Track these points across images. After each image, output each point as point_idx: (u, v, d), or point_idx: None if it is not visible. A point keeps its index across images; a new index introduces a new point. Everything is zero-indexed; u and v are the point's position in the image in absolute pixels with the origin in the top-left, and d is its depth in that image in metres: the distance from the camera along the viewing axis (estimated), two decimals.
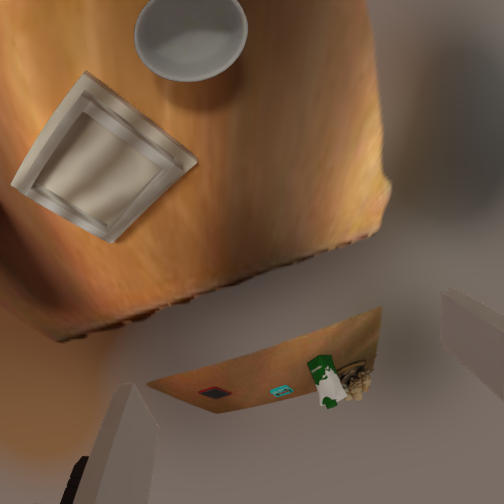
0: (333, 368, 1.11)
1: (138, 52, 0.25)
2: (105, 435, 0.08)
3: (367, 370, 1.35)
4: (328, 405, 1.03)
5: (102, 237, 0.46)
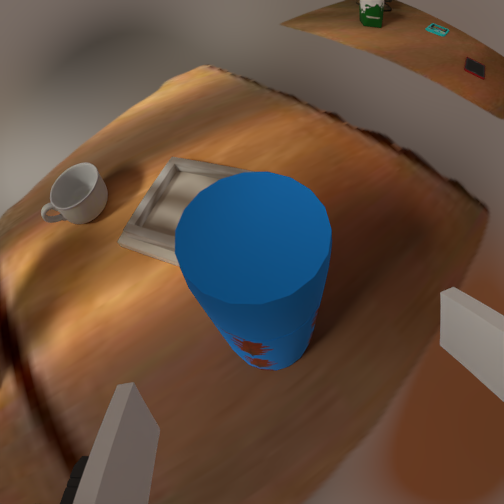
0: None
1: (83, 199, 0.49)
2: (105, 435, 0.08)
3: None
4: None
5: None
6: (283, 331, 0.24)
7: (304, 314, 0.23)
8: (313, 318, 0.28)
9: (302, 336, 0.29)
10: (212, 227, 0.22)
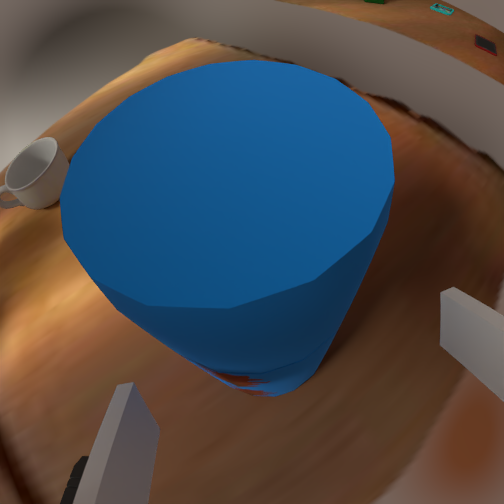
0: None
1: (37, 177, 0.37)
2: (105, 435, 0.08)
3: None
4: None
5: None
6: (288, 358, 0.12)
7: (331, 325, 0.11)
8: (338, 328, 0.16)
9: (318, 358, 0.17)
10: (136, 143, 0.09)
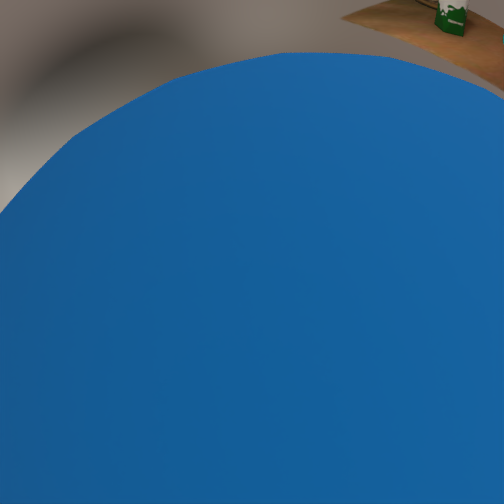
0: (438, 9, 0.59)
1: None
2: None
3: None
4: None
5: None
6: None
7: None
8: None
9: None
10: (72, 370, 0.02)
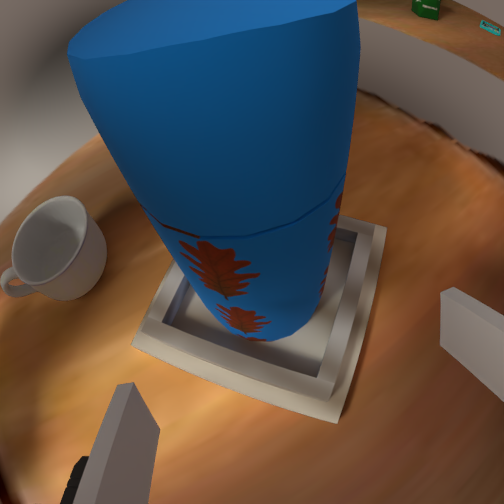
0: None
1: (63, 269, 0.27)
2: (105, 435, 0.08)
3: None
4: None
5: (369, 236, 0.29)
6: (275, 205, 0.11)
7: (318, 162, 0.11)
8: (332, 216, 0.15)
9: (313, 256, 0.16)
10: (141, 6, 0.09)
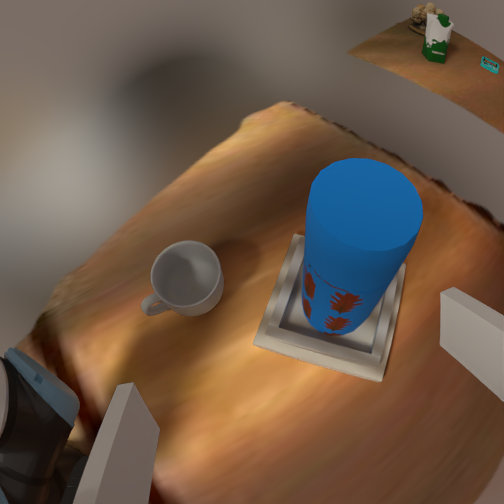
0: (424, 41, 0.84)
1: (207, 296, 0.45)
2: (105, 435, 0.08)
3: (411, 18, 1.02)
4: (445, 18, 0.70)
5: None
6: (381, 282, 0.30)
7: (398, 267, 0.29)
8: None
9: (382, 293, 0.35)
10: (339, 197, 0.27)
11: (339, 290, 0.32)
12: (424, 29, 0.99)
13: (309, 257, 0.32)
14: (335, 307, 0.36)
